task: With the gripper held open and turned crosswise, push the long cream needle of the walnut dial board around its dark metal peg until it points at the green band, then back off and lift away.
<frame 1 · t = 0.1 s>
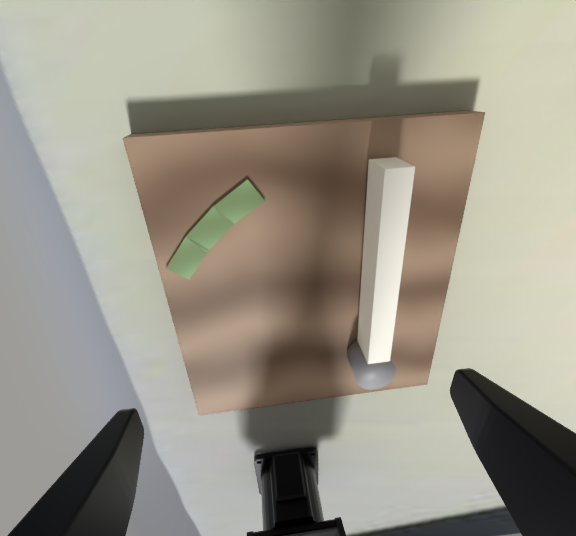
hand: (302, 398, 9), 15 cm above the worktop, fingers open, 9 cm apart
dial board: (310, 282, 25), on the worktop
dial needle: (377, 289, 22), point 3 cm above the worktop, hinge at 0.0°
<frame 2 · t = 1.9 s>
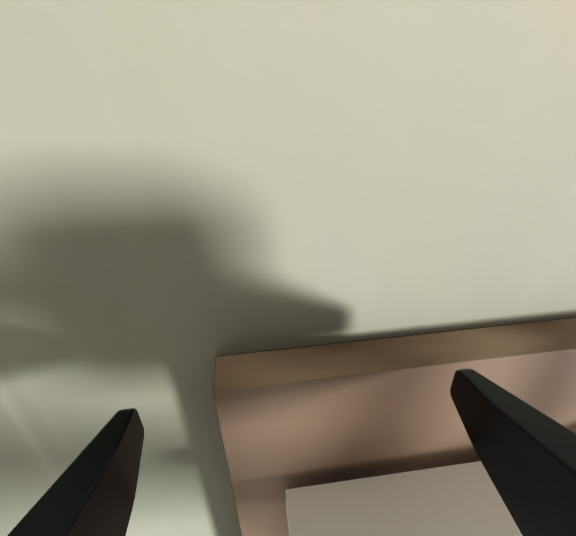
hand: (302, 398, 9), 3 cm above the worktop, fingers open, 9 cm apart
dial board: (456, 477, 17), on the worktop
dial needle: (504, 500, 13), point 3 cm above the worktop, hinge at 0.0°
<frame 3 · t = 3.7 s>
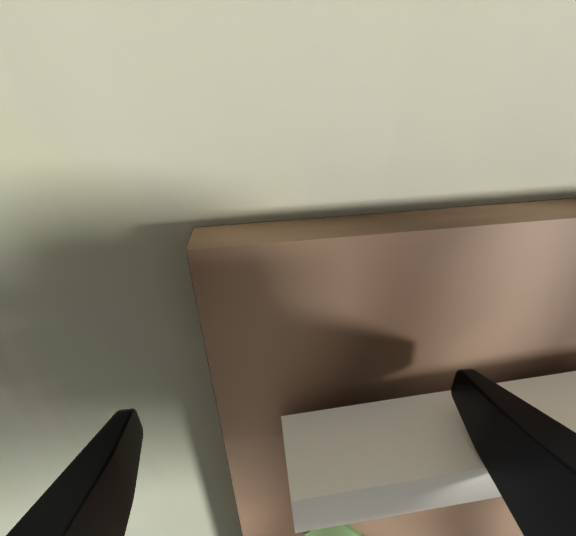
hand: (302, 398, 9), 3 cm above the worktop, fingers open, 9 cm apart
dial board: (481, 418, 15), on the worktop
dial needle: (547, 423, 11), point 3 cm above the worktop, hinge at 2.2°, touching gripper
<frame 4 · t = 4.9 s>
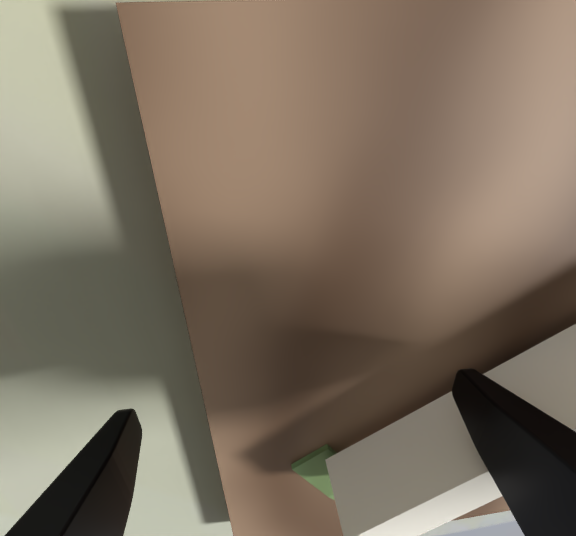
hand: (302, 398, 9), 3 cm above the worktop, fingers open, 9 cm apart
dial board: (498, 332, 13), on the worktop
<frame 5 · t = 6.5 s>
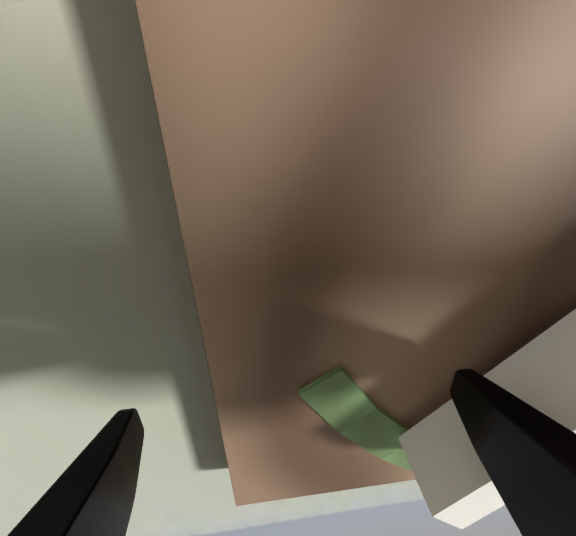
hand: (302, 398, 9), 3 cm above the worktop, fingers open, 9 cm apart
dial board: (543, 242, 11), on the worktop
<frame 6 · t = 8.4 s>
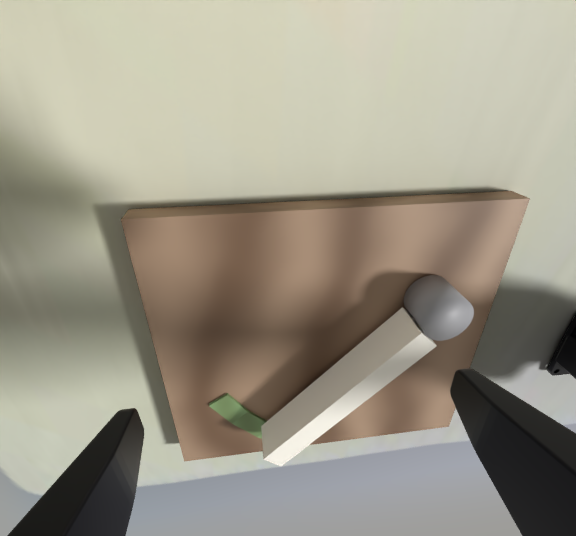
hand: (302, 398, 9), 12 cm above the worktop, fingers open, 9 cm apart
dial board: (324, 336, 24), on the worktop
dial needle: (354, 375, 22), point 3 cm above the worktop, hinge at 46.6°
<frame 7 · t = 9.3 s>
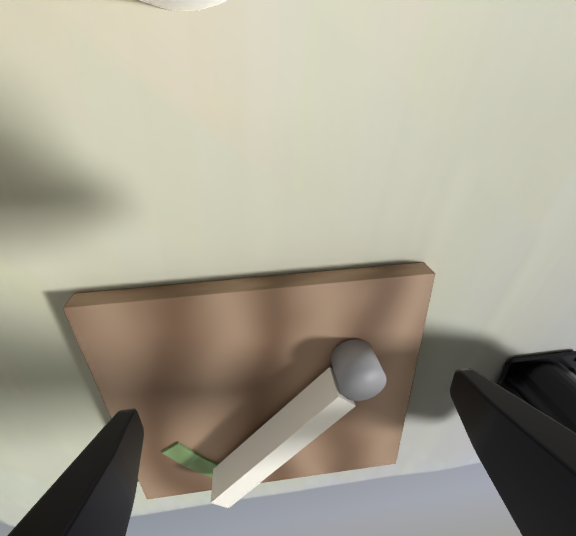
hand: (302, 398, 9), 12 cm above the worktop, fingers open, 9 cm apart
dial board: (267, 388, 26), on the worktop
dial needle: (289, 428, 24), point 3 cm above the worktop, hinge at 46.6°
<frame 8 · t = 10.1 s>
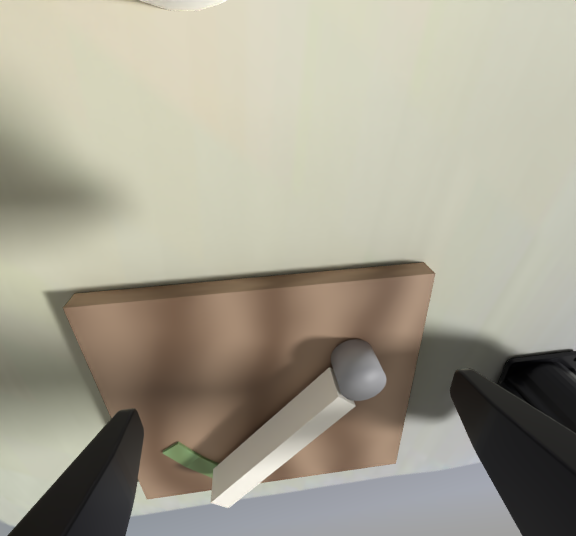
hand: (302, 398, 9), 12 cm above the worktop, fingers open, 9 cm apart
dial board: (267, 388, 26), on the worktop
dial needle: (289, 428, 24), point 3 cm above the worktop, hinge at 46.6°
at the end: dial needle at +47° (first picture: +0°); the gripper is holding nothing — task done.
